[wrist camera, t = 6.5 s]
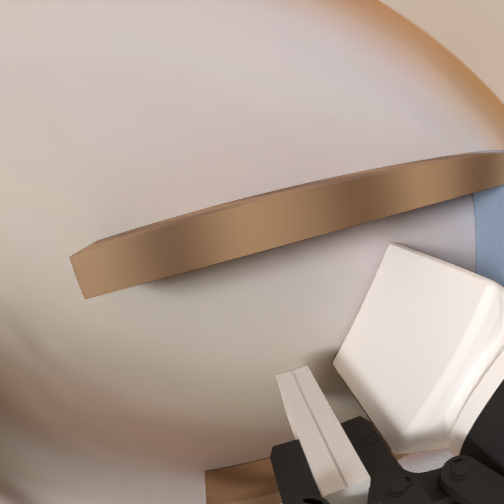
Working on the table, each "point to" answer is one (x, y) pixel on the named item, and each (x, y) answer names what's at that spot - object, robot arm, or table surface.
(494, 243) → the end stop
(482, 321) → the medicine bottle
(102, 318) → the table surface
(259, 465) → the guide channel
